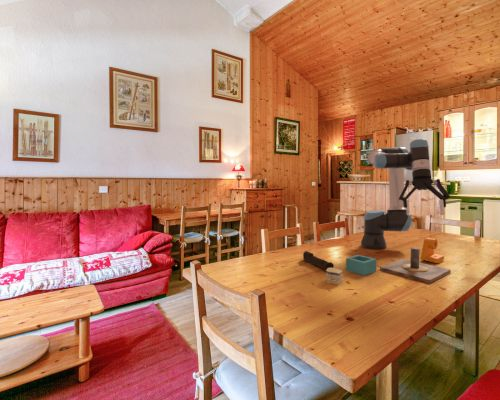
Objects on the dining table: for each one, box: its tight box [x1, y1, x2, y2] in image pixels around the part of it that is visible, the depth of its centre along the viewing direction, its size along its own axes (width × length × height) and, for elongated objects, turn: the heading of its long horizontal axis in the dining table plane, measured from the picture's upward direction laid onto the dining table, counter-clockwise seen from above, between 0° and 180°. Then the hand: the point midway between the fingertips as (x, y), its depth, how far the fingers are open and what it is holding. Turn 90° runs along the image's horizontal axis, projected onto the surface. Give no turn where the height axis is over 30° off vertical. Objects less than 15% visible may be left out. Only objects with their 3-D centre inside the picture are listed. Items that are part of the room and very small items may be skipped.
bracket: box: [420, 237, 445, 264], centre depth 149 cm, size 11×7×12 cm, turn 126°
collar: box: [345, 254, 377, 276], centre depth 135 cm, size 10×10×6 cm
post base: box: [379, 247, 452, 284], centre depth 133 cm, size 22×22×11 cm
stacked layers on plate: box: [325, 267, 344, 286], centre depth 121 cm, size 10×9×6 cm
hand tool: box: [302, 250, 335, 273], centre depth 145 cm, size 23×5×6 cm, turn 20°
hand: (425, 214), depth 127 cm, fingers open, 13 cm apart
